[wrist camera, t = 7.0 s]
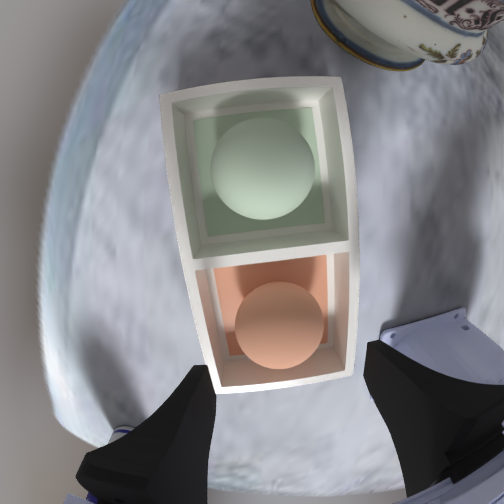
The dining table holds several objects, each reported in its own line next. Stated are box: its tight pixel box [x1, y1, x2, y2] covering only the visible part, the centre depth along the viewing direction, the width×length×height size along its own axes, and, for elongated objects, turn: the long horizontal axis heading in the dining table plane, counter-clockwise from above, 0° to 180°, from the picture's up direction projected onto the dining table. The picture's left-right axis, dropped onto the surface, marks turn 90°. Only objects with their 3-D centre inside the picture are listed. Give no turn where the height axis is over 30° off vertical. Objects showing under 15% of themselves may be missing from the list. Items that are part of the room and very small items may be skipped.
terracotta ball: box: [235, 281, 324, 369], centre depth 15 cm, size 5×5×5 cm
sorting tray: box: [159, 76, 360, 394], centre depth 15 cm, size 9×18×3 cm, turn 7°
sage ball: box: [210, 118, 315, 220], centre depth 13 cm, size 5×5×5 cm
